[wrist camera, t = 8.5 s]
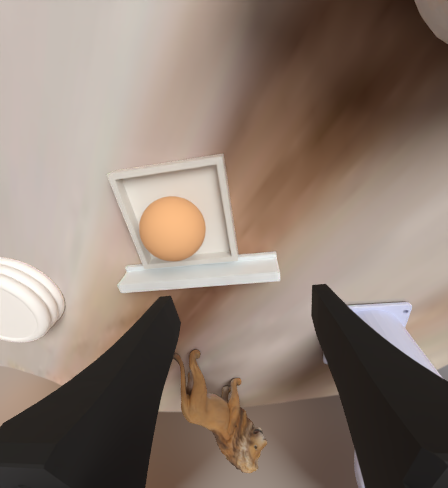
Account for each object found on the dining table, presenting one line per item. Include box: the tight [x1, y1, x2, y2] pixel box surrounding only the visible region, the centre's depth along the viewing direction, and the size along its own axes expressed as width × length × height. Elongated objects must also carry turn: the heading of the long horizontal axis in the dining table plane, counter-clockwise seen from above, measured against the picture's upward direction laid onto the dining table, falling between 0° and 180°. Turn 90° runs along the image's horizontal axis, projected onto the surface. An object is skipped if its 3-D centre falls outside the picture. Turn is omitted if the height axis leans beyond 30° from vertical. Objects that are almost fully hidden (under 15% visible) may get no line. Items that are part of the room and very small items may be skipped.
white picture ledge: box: [117, 251, 280, 293], centre depth 22 cm, size 2×15×2 cm, turn 99°
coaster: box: [0, 257, 65, 342], centre depth 25 cm, size 10×10×4 cm
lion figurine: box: [173, 350, 267, 473], centre depth 28 cm, size 15×5×9 cm, turn 52°
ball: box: [139, 196, 206, 261], centre depth 18 cm, size 5×5×5 cm
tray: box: [106, 153, 238, 269], centre depth 19 cm, size 9×9×1 cm
